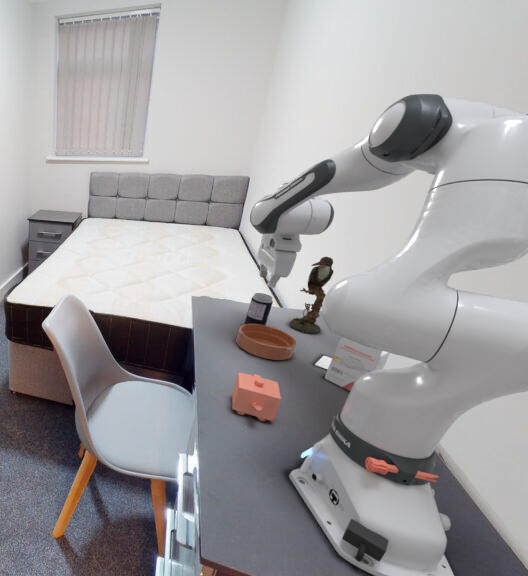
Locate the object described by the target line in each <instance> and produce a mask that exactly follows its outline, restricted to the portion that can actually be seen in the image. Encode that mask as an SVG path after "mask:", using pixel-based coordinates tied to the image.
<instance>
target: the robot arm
mask: <svg viewBox="0 0 528 576" xmlns="http://www.w3.org/2000/svg"><path fill="white" fill-rule="evenodd" d="M417 170H418V171H421V172H426V174H429V175H433V176H434V177H433V179H432V181H431V184H430V186H429V188H428V192H427V194H426V197H425V200H424V203H423V205H422V208H421V211H420V213H419V215H418V218H417V220H416V222H415V224H414V226H413V228H412V230H411V232H410V234H409V236H408V238H407V239H406V241H405V242H404V243H403V244H402V245H401V247H400V248H399V249H398V250H397V251H396V252H395V253H393V255H391V256H390V257H389V258H387V259H386V260H385V261H383V262H381V263H379V264H378V265H376V266H374V267H371V268H370V269H367V270H365V271H361V272H358V273H355V274H351V275H349V276H346V277H345V278H342V279H340V280H339V281H337V282H336V283H335V284H333V285H332V287H331V288H329V290H328V291H327V293H325V294H326V296H325V298H324V300H323V304H322V307H321V315H322V319H323V322H324V324H325V325H326V327H327V328H328V330H329V331H330V332H331V333H334V334H336V335H338V336H341V338H342V337H344V338H347V339H349V340H351V341H354V342H356V343H359V344H361V345H363V346H367V347H370V348H374V349H378V350H381V351H385V352H389V353H390V354H393V355H395V356H400V357H404V358H407V359H411V360H415V361H419V362H418V363H416V364H413V365H409V366H405V367H399V368H398V367H397V368H383V369H379V370H374V371H371V372H368V373H366V374H364V375H362V376H360V377H359V378H358V379H357V380H356V381H355V382H354V385H353V387H352V389H351V391H349V393H348V396H347V397H346V400H345V402H344V404H343V407H342V408H341V409H339V410H338V411H337V412H336V415H335V416H334V417H333V418H332V420H331V424H330V427H329V433H328V434H327V435H326V436H324V437H323V438H321V439H320V440H319V441H317V442H316V443H315V444H314V445H313V446H312V447H310V448H309V449H307V450H305V451H303V452H302V453H301V455H300V458H302V459H303V458H305V457H306V458H305V459H304V461H303V463H302V464H301V466H300V467H299V468H295V469H293V470H291V471H290V473H289V474H288V477H289V480H290V482H292V484H293V486H294V487H295V489H296V491H297V492H298V494H299V495H300V497H301V499H302V500H303V501H304V503H305V504H306V506H307V508H308V510H309V511H310V512H311V514H312V516H313V517H314V519H315V520H316V522H317V524H318V525H319V527H321V530H322V531H323V533H324V535H326V538H327V540H328V541H329V542H330V544H331V545H332V547H333V549H334V550H335V551H336V552H337V554H338V555H339V556H340V557H341V558H342V559H344V560H345V561H347V562H348V563H350V564H352V565H353V566H355V567H357V568H359V569H360V570H362V571H364V572H366V573H368V574H371V575H372V576H455V574H454V572H453V570H452V568H451V566H450V563H449V562H448V559H447V557H446V555H445V552H446V549H447V543H448V538H447V535H446V532H448V531H450V529H451V526H452V525H451V524H452V523H451V519H450V517H449V516H448V515H446V514H444V513H441V512H439V510H438V506H437V501H436V498H435V495H436V493H435V489H434V488H433V487H431V483H430V482H433V483H437V480H436V479H440V475H437V474H433V473H434V468H435V466H436V449H437V447H438V445H439V443H440V442H441V440H442V439H443V438H444V436H445V435H446V433H447V432H448V431H449V430H450V428H451V427H452V426H453V424H454V423H455V422H456V421H457V420H458V419H459V418H460V417H461V416H463V415H464V414H465V413H467V412H469V411H470V410H471V409H473V408H475V407H477V406H479V405H482V404H484V403H486V402H490V401H492V400H495V399H498V398H502V397H505V396H509V395H514V394H520V393H526V392H528V301H522V300H517V299H512V298H506V297H500V296H495V295H489V294H484V293H478V292H472V291H468V290H462V289H456V288H454V287H451V286H449V285H448V283H449V280H450V277H451V276H452V275H454V274H459V273H463V272H470V271H478V270H479V271H480V270H484V269H490V268H497V267H500V266H504V265H508V264H511V263H514V262H516V261H517V260H521V258H523V257H525V256H526V255H527V254H528V113H527V114H526V113H523V112H520V111H517V110H515V109H511V108H508V107H503V106H499V105H494V104H491V103H489V102H486V101H482V100H475V99H467V98H459V97H449V96H442V95H440V94H436V93H415V94H408V95H406V96H404V97H401V98H400V99H399V100H397V101H395V102H394V103H391V105H389V106H388V107H387V108H386V109H384V110H383V112H382V113H381V114H380V115H379V117H378V118H377V119H376V121H375V123H374V124H373V125H372V128H371V129H370V132H369V133H367V134H366V135H365V136H364V137H363V138H362V139H360V140H358V141H357V142H356V143H353V145H351V146H349V147H348V148H346V149H344V150H343V151H340V152H339V153H337V154H335V155H333V156H331V157H328V158H327V159H324V160H322V161H320V162H318V163H316V164H314V165H312V166H310V167H309V168H307V169H306V170H305V171H303V172H301V173H300V174H299V175H297V176H296V177H294V178H293V179H292V180H290V181H288V182H285V183H281V184H280V185H279V186H278V187H277V189H276V191H275V192H274V193H272V194H268V195H265V196H263V197H262V198H261V199H259V200H258V201H257V202H256V203H255V204H254V205H253V207H252V208H251V211H250V215H249V221H250V224H251V226H252V227H253V228H254V229H255V230H256V232H258V233H259V234H261V238H260V244H259V248H258V251H257V254H256V259H257V260H258V261H259V262H260V264H259V273H258V275H259V277H260V278H267V276H268V272H269V273H270V278H269V279H268V280H267V283H266V285H267V287H268V288H272V289H274V288H275V289H276V286H277V284H278V282H279V281H280V280H281V278H288V277H289V276H290V275H291V272H292V270H293V268H294V266H295V263H296V260H297V255H298V254H297V253H300V252H301V250H302V242H301V240H300V239H301V237H300V235H301V236H302V235H303V236H314V235H321V234H322V233H324V232H325V231H327V230H328V228H330V226H331V225H332V223H333V221H334V219H335V218H334V217H335V209H334V207H333V205H332V203H330V202H329V201H328V200H327V199H326V200H325V199H324V198H322V197H321V196H324V195H330V194H331V195H332V194H339V193H340V194H342V193H357V192H359V193H360V192H371V191H377V190H381V189H383V188H386V187H388V186H392V185H393V184H396V183H397V182H399V181H401V180H403V179H405V178H407V177H408V176H409V175H411V174H413V173H414V172H415V171H417Z"/></svg>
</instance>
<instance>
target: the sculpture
mask: <svg viewBox="0 0 528 576" xmlns="http://www.w3.org/2000/svg"><path fill="white" fill-rule="evenodd" d="M333 264H334V259H333V258H332V257H329V256H324V257H321V258H320V260H319V261H318V262H315V263H312V264H311V265H310V266H311V267H313V268H312V269H311V271H310V273H309V275H308V279H307V289H306V288H305V287H303V288H302V289H300V290H299V292H302V293H303V292H304V293H305V294H308V295H312V296H314V295H315V297H316V298H315V300H314V301H313V302H314V303H307V302H304V306H305V308H304V310H303V312H302V315H303V316H302V317H299V318H298V317H296V318H293V319H291V320H290V322H289V323H288V325H289V326H290V327H292V328H293V329H294V330H297V331H299V332H303V333H306V334H311V335H314V334H318V333H320V332H321V327H320V326H319V325H318V324H316V322H317V319H318V318H320V316H321V315H320V311H321V310H322V304H323V300H324V298H325V296H326V294H327V293H325V290H324V289H323V287H324V286H326V285H327V284H328V282H329V281H330V280H331V279H332V277H333V275H334V270H333V267H332V266H333ZM310 309H311V310H310ZM305 311H307V312H306V314H305Z"/></svg>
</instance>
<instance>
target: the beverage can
mask: <svg viewBox="0 0 528 576" xmlns="http://www.w3.org/2000/svg"><path fill="white" fill-rule="evenodd" d="M273 301H274V300H273V297H272V296H271V295H270V294H268V293H267V294H266V293H263V292H255V293H254V295H252V297H251V299H250V304H249V307H248V310H247V312H246V317H245V320H244V322H243V325H244V324H261V325H266V326H267V321H268V319H269V315H270V313H271V309H272V307H273V303H274V302H273Z"/></svg>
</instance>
